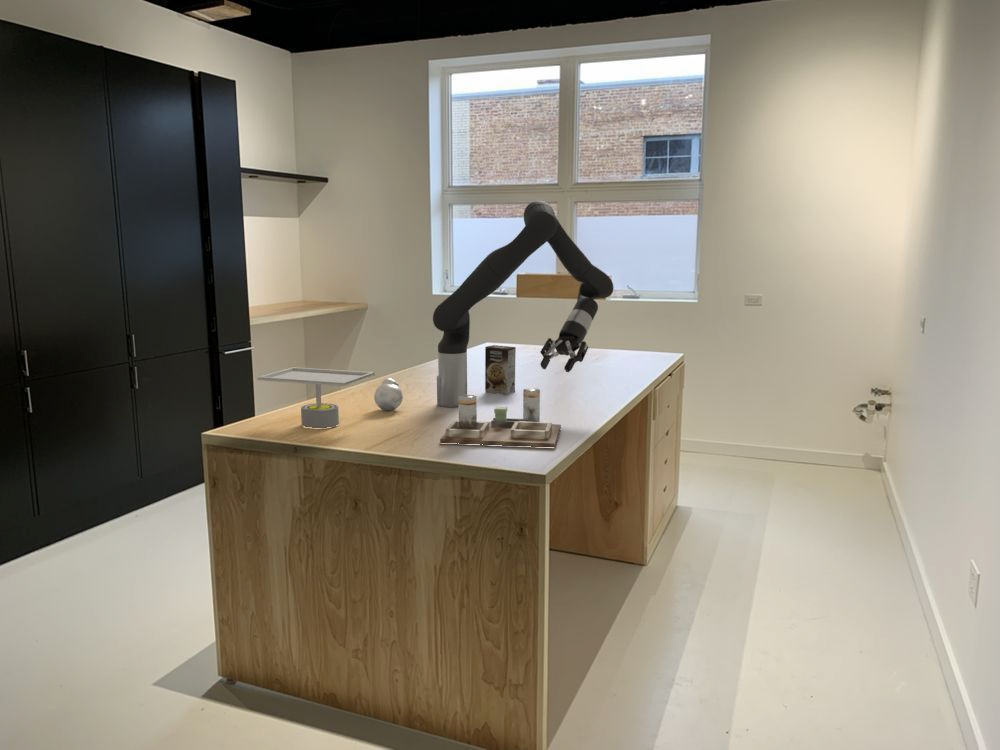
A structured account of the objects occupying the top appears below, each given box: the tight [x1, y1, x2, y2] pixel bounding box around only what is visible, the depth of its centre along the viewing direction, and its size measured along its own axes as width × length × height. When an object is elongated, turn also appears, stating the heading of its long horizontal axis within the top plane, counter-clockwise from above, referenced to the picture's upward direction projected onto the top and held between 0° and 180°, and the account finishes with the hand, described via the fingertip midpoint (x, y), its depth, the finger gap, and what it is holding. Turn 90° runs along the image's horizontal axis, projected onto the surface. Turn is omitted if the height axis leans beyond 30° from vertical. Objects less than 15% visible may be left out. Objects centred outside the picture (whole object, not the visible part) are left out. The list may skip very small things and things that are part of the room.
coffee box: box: [484, 344, 517, 395], centre depth 260 cm, size 9×6×16 cm
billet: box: [522, 387, 541, 422], centre depth 217 cm, size 5×5×10 cm
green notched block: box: [493, 406, 508, 421], centre depth 209 cm, size 3×3×5 cm
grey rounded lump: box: [373, 377, 404, 412], centre depth 234 cm, size 9×10×10 cm
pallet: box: [439, 417, 562, 448], centre depth 203 cm, size 30×20×4 cm, turn 81°
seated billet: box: [458, 394, 478, 430], centre depth 200 cm, size 5×5×10 cm
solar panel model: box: [256, 366, 376, 428], centre depth 214 cm, size 28×17×15 cm, turn 71°
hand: (554, 369), depth 223 cm, fingers open, 8 cm apart
